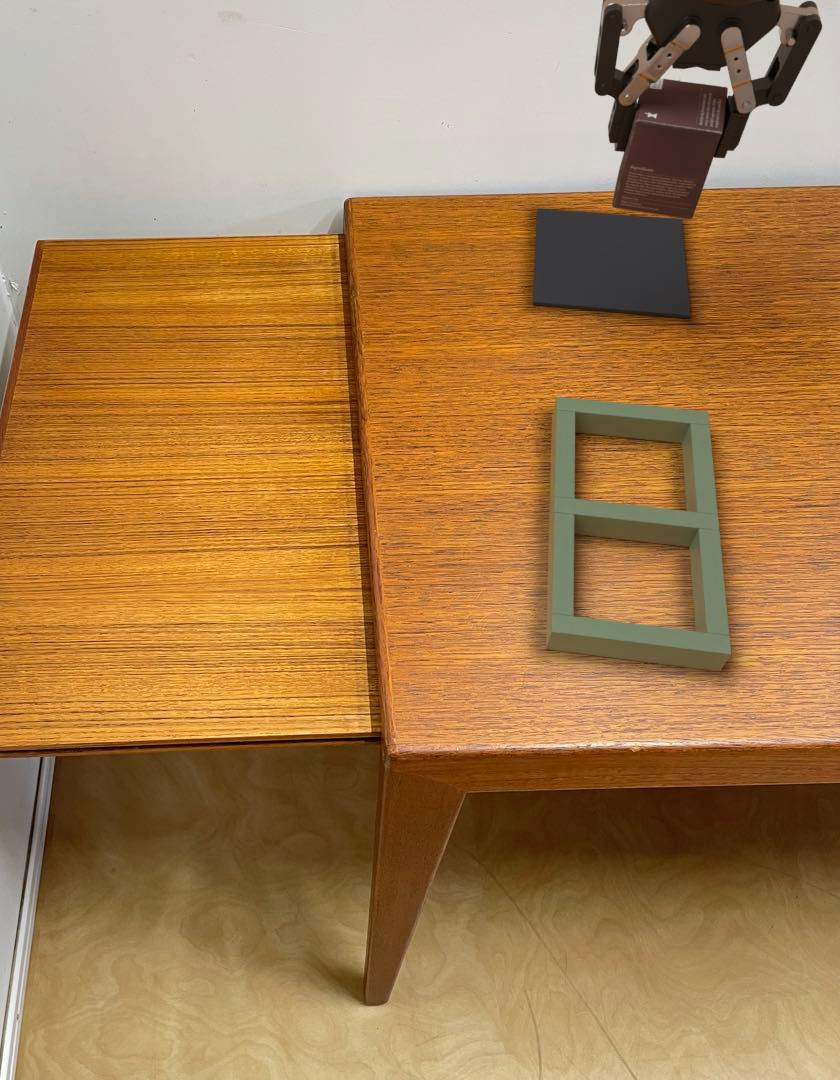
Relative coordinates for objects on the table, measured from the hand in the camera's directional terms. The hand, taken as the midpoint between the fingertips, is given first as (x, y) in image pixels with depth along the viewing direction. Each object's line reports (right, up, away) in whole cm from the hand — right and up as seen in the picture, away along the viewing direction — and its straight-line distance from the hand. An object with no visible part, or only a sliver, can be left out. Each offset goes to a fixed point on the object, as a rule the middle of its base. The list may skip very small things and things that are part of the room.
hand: (667, 148), depth 73 cm
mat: (+3, -2, +22) cm, 22 cm away
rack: (-2, -28, +3) cm, 28 cm away
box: (0, -2, +3) cm, 4 cm away
